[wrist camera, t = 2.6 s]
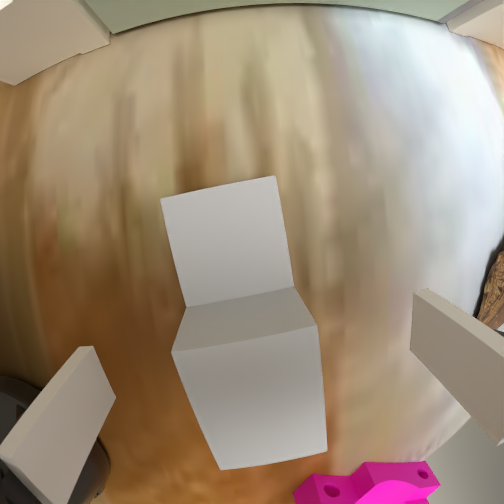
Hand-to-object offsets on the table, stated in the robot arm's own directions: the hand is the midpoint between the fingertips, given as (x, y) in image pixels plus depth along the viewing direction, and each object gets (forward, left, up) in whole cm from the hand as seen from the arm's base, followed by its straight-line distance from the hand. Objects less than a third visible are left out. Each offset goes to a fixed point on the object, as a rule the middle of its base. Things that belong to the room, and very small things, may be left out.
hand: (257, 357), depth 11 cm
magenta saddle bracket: (+9, -24, -7) cm, 27 cm away
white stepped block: (0, 0, -7) cm, 7 cm away
